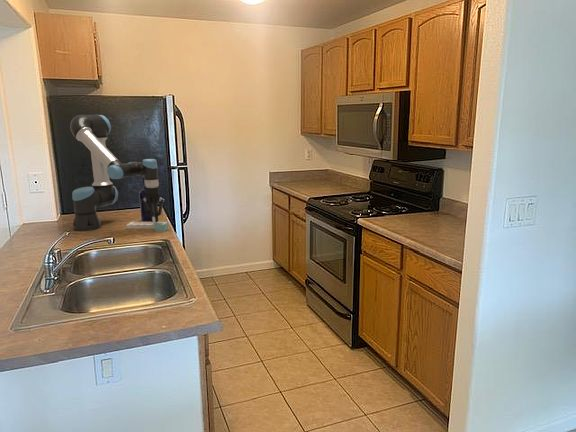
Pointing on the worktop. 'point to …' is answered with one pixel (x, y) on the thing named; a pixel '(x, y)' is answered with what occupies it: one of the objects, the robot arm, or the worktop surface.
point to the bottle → (143, 212)
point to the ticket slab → (141, 225)
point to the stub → (161, 226)
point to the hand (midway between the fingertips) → (155, 227)
